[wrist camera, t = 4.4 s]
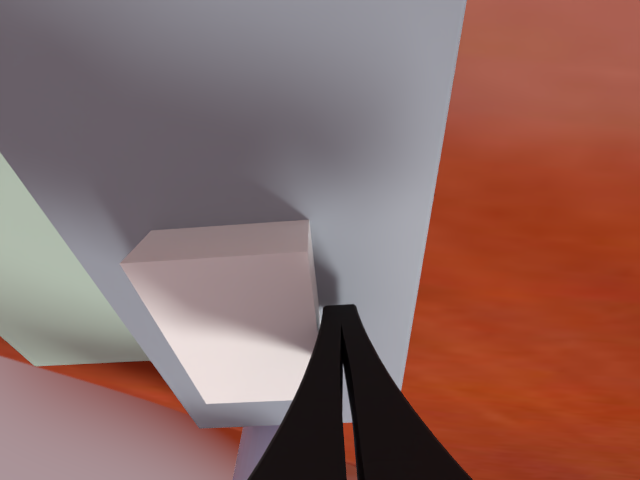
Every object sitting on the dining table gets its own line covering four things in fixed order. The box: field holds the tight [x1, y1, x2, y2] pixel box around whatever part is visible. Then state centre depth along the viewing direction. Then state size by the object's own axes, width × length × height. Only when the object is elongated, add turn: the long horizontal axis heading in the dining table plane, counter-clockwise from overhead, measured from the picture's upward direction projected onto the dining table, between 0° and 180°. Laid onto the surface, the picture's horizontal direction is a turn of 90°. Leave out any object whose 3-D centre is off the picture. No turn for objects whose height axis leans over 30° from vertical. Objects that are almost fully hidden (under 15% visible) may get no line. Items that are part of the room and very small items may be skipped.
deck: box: [0, 0, 467, 428], centre depth 14 cm, size 24×14×4 cm, turn 4°
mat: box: [0, 153, 150, 366], centre depth 16 cm, size 20×13×1 cm, turn 4°
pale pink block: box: [120, 220, 321, 404], centre depth 12 cm, size 9×6×2 cm, turn 4°
